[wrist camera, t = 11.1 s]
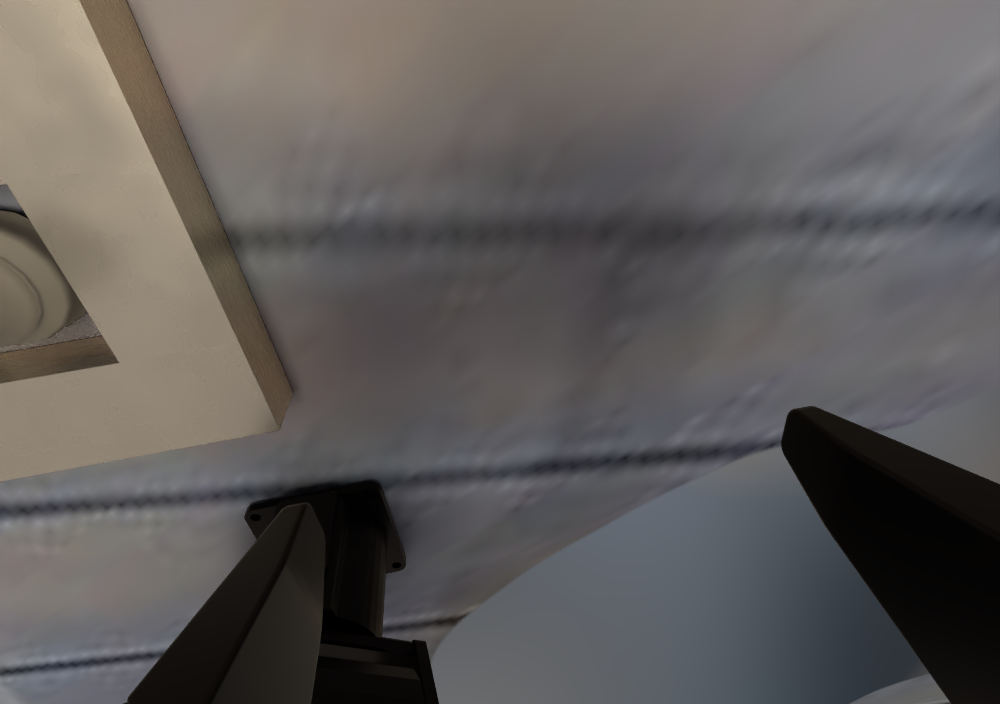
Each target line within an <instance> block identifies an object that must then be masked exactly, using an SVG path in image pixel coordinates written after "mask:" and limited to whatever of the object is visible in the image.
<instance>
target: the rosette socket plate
mask: <svg viewBox="0 0 1000 704" xmlns="http://www.w3.org/2000/svg"><path fill="white" fill-rule="evenodd" d="M2 184H7V185H8V187H9V188H10V190H11V191H12V193H13V195H14V196H15V198H16V199H17V201H18V203H19V204H20V206H21V207H22V209H23V210H24V212H25V214H26V215H27V217H28V218H29V220H30V222H31V223H32V225H33V226H34V228H35V230H36V231H37V233H38V234H39V236H40V237H41V239H42V241H43V242H44V244H45V245H46V247H47V249H48V250H49V252H50V253H51V255H52V257H53V258H54V260H55V261H56V263H57V264H58V266H59V268H60V269H61V271H62V272H63V274H64V276H65V277H66V279H67V280H68V282H69V284H70V285H71V287H72V288H73V290H74V291H75V293H76V295H77V296H78V298H79V299H80V301H81V303H82V304H83V306H84V307H85V309H86V311H87V312H88V314H89V315H90V317H91V318H92V320H93V322H94V323H95V325H96V326H97V328H98V330H99V331H100V333H101V334H102V336H99V337H93V338H88V339H82V340H76V341H70V342H64V343H58V344H52V345H46V346H41V347H35V348H29V349H23V350H17V351H11V352H5V353H0V481H5V480H11V479H16V478H22V477H27V476H32V475H38V474H43V473H49V472H54V471H60V470H65V469H71V468H76V467H82V466H87V465H93V464H98V463H104V462H109V461H114V460H120V459H125V458H131V457H136V456H142V455H147V454H153V453H158V452H164V451H169V450H175V449H180V448H186V447H191V446H197V445H202V444H207V443H213V442H218V441H224V440H229V439H235V438H240V437H246V436H251V435H257V434H262V433H268V432H273V431H279V430H280V428H281V425H282V422H283V419H284V416H285V414H286V411H287V408H288V405H289V402H290V399H291V396H292V393H293V391H292V389H291V387H290V384H289V382H288V379H287V377H286V375H285V372H284V370H283V368H282V365H281V363H280V361H279V358H278V356H277V354H276V351H275V349H274V347H273V344H272V342H271V340H270V337H269V335H268V332H267V330H266V328H265V325H264V323H263V321H262V318H261V316H260V314H259V311H258V309H257V307H256V304H255V302H254V300H253V297H252V295H251V292H250V290H249V288H248V285H247V283H246V281H245V278H244V276H243V274H242V271H241V269H240V267H239V264H238V262H237V260H236V257H235V255H234V253H233V250H232V248H231V245H230V243H229V241H228V238H227V236H226V234H225V231H224V229H223V227H222V224H221V222H220V220H219V217H218V215H217V213H216V210H215V208H214V206H213V203H212V201H211V198H210V196H209V194H208V191H207V189H206V187H205V184H204V182H203V180H202V177H201V175H200V173H199V170H198V168H197V166H196V163H195V161H194V158H193V156H192V154H191V151H190V149H189V147H188V144H187V142H186V140H185V137H184V135H183V133H182V130H181V128H180V126H179V123H178V121H177V119H176V116H175V114H174V111H173V109H172V107H171V104H170V102H169V100H168V97H167V95H166V93H165V90H164V88H163V86H162V83H161V81H160V79H159V76H158V74H157V72H156V69H155V67H154V64H153V62H152V60H151V57H150V55H149V53H148V50H147V48H146V46H145V43H144V41H143V39H142V36H141V34H140V32H139V29H138V27H137V24H136V22H135V20H134V17H133V15H132V13H131V10H130V8H129V6H128V3H127V1H126V0H0V185H2Z"/></svg>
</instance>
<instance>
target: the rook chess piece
mask: <svg viewBox="0 0 1000 704" xmlns="http://www.w3.org/2000/svg"><path fill="white" fill-rule="evenodd" d="M85 312H86V309H85V307H84V306H83V304H82V303H81V301H80V299H79V298H78V296H77V295H76V293H75V291H74V290H73V288H72V287H71V285H70V284H69V282H68V280H67V279H66V277H65V276H64V274H63V272H62V271H61V269H60V268H59V266H58V264H57V263H56V261H55V260H54V258H53V257H52V255H51V253H50V252H49V250H48V249H47V247H46V245H45V244H44V242H43V241H42V239H41V237H40V236H39V234H38V233H37V231H36V230H35V228H34V226H33V225H32V223H31V222H30V220H29V219H28V218H25V217H23V216H21V215H19V214H17V213H14V212H7V211H1V210H0V347H5V346H9V345H21V344H26V343H30V342H35V341H40V340H44V339H47V338H50V337H52V336H54V335H55V334H56V333H58V332H59V331H60V330H61V329H63V328H64V327H67V326H69V325H70V324H72V323H73V322H74V321H76V320H77V319H78V318H80V317H81V316H82V315H84V314H85Z"/></svg>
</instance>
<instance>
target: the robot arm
mask: <svg viewBox="0 0 1000 704" xmlns="http://www.w3.org/2000/svg"><path fill="white" fill-rule="evenodd" d="M781 447H782V451H783V453H784V456H785V457H786V459H787V461H788V462H789V464H790V466H791V468H792V470H793V471H794V473H795V475H796V477H797V478H798V480H799V482H800V484H801V485H802V487H803V489H804V491H805V492H806V494H807V496H808V498H809V499H810V501H811V503H812V505H813V507H814V508H815V510H816V512H817V514H818V515H819V517H820V518H821V520H822V522H823V523H824V525H825V526H826V528H827V529H828V531H829V532H830V534H831V535H832V537H833V538H834V540H835V541H836V542H837V544H838V545H839V547H840V548H841V549H842V551H843V552H844V554H845V555H846V556H847V558H848V559H849V561H850V562H851V563H852V565H853V566H854V568H855V569H856V571H857V572H858V573H859V575H860V576H861V578H862V579H863V580H864V582H865V583H866V585H867V586H868V587H869V589H870V590H871V592H872V593H873V594H874V595H875V597H876V599H877V600H878V601H879V603H880V604H881V606H882V607H883V608H884V610H885V611H886V613H887V614H888V615H889V617H890V618H891V620H892V621H893V623H894V624H895V625H896V627H897V628H898V630H899V631H900V632H901V634H902V635H903V636H904V638H905V639H906V641H907V642H908V644H909V645H910V646H911V648H912V649H913V651H914V652H915V653H916V655H917V656H918V658H919V659H920V660H921V662H922V663H923V665H924V666H925V667H926V669H927V670H928V672H929V673H930V674H931V676H932V677H933V679H934V680H935V682H936V683H937V684H938V686H939V687H940V689H941V690H942V691H943V693H944V694H945V696H946V697H947V698H948V700H949V701H950V703H951V704H1000V484H998V483H995V482H993V481H990V480H988V479H986V478H984V477H981V476H979V475H977V474H974V473H972V472H969V471H967V470H964V469H962V468H960V467H957V466H955V465H953V464H950V463H948V462H946V461H943V460H941V459H938V458H936V457H934V456H931V455H929V454H927V453H924V452H922V451H919V450H917V449H914V448H912V447H910V446H908V445H905V444H903V443H900V442H898V441H896V440H893V439H891V438H888V437H886V436H884V435H881V434H879V433H877V432H874V431H872V430H869V429H867V428H865V427H862V426H860V425H858V424H855V423H853V422H850V421H848V420H846V419H843V418H841V417H839V416H836V415H834V414H831V413H829V412H827V411H824V410H822V409H819V408H817V407H814V406H807V407H802V408H797V409H793V410H791V411H790V412H789V413H788V415H787V418H786V423H785V427H784V431H783V436H782V440H781ZM368 492H373V493H368ZM256 514H258V515H256ZM245 520H246V522H247V524H248V525H249V527H250V529H251V530H252V532H253V534H254V536H255V537H256V539H257V541H256V542H255V543H254V544H253V545H252V547H251V548H250V549H249V550H248V552H247V553H246V554H245V555H244V556H243V558H242V559H241V560H240V561H239V563H238V564H237V565H236V566H235V567H234V569H233V570H232V571H231V572H230V574H229V575H228V576H227V577H226V578H225V580H224V581H223V582H222V583H221V585H220V586H219V587H218V588H217V589H216V591H215V592H214V593H213V594H212V595H211V597H210V598H209V599H208V600H207V602H206V603H205V604H204V605H203V606H202V608H201V609H200V610H199V611H198V613H197V614H196V615H195V616H194V617H193V619H192V620H191V621H190V622H189V624H188V625H187V626H186V627H185V628H184V630H183V631H182V632H181V633H180V634H179V636H178V637H177V638H176V639H175V641H174V642H173V643H172V644H171V645H170V647H169V648H168V649H167V650H166V652H165V653H164V654H163V655H162V656H161V658H160V659H159V660H158V661H157V663H156V664H155V665H154V666H153V667H152V669H151V670H150V671H149V672H148V674H147V675H146V676H145V677H144V678H143V680H142V681H141V682H140V683H139V684H138V686H137V687H136V688H135V689H134V691H133V692H132V693H131V694H130V695H129V697H128V699H127V702H128V703H127V702H126V703H123V704H439V702H438V697H437V692H436V688H435V683H434V678H433V673H432V669H431V664H430V659H429V654H428V650H427V645H426V642H425V641H420V640H413V641H412V642H411V641H404V640H398V639H391V638H385V637H382V630H383V613H384V595H385V577H386V573H391V572H396V571H400V570H403V569H404V568H405V566H406V556H405V553H404V551H403V548H402V545H401V542H400V539H399V536H398V534H397V531H396V528H395V525H394V522H393V519H392V517H391V514H390V511H389V508H388V505H387V502H386V500H385V497H384V494H383V491H382V488H381V486H380V485H379V484H377V483H374V482H368V483H362V484H357V485H352V486H346V487H341V488H336V489H331V490H325V491H320V492H315V493H310V494H304V495H299V496H294V497H289V498H283V499H278V500H273V501H267V502H262V503H257V504H253V505H250V506H249V507H248V508H247V511H246V514H245Z"/></svg>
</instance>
